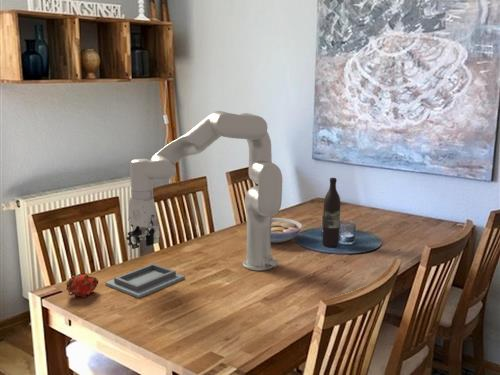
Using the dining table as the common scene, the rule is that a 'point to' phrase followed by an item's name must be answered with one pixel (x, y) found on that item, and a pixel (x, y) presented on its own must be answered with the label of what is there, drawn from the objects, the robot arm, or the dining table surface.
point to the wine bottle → (331, 216)
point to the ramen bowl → (284, 229)
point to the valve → (141, 238)
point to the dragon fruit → (81, 285)
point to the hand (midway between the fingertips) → (143, 242)
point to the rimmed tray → (145, 280)
